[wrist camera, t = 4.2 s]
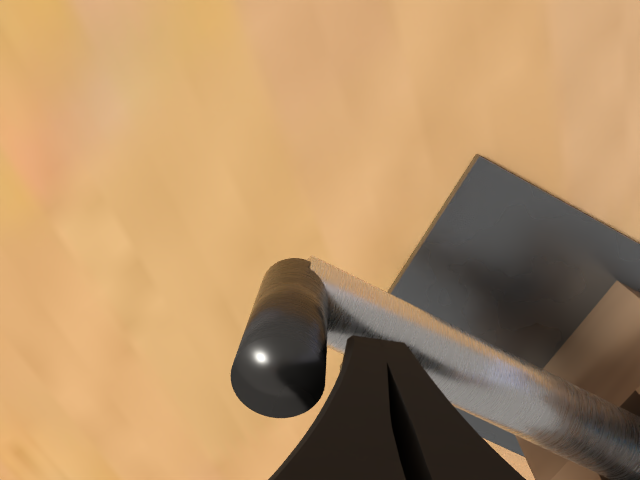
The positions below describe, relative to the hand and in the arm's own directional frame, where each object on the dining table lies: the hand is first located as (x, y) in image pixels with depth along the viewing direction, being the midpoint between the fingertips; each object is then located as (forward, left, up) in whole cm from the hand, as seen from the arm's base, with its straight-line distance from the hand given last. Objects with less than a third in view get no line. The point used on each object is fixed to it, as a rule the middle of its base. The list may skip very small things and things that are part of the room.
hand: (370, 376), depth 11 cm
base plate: (-7, +7, -8) cm, 12 cm away
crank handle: (-2, +2, -3) cm, 5 cm away
